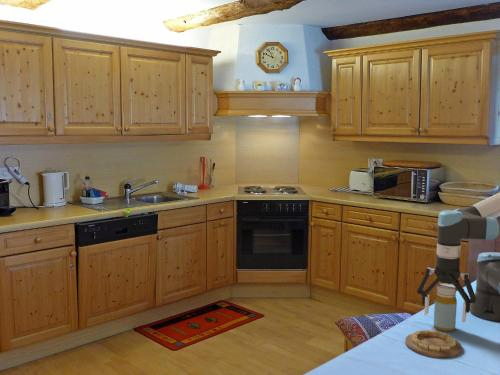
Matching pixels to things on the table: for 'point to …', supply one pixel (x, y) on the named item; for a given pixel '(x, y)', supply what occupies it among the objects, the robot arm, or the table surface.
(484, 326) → the table surface
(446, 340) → the ring tray
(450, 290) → the bottle
